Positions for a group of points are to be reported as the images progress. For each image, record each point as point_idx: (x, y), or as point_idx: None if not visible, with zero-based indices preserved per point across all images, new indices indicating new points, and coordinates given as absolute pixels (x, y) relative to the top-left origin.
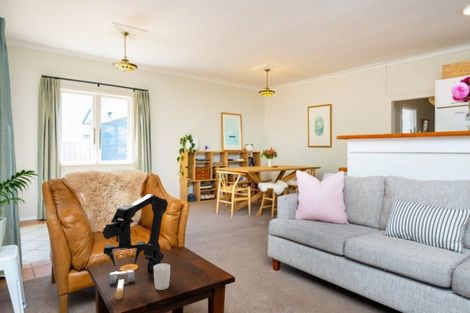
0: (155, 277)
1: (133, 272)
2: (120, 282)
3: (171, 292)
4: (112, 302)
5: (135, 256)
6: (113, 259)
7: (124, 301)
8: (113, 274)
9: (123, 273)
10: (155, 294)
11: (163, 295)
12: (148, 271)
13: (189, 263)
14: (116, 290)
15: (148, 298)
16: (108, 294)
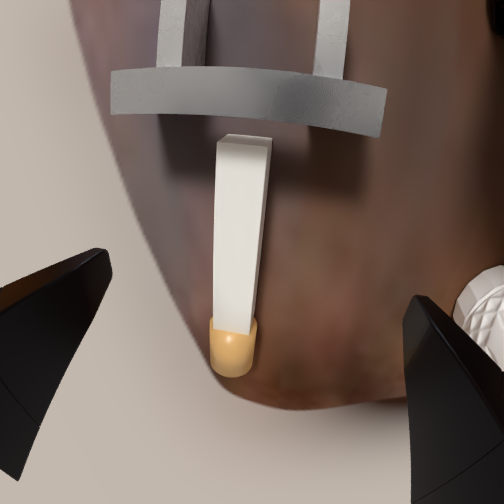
0: None
1: (375, 136)
2: (233, 216)
3: None
4: (206, 354)
5: (412, 478)
6: (45, 392)
7: (264, 368)
8: (146, 112)
9: (255, 117)
10: None
11: None
12: (495, 16)
13: None
14: (211, 333)
15: (377, 381)
16: (170, 270)
